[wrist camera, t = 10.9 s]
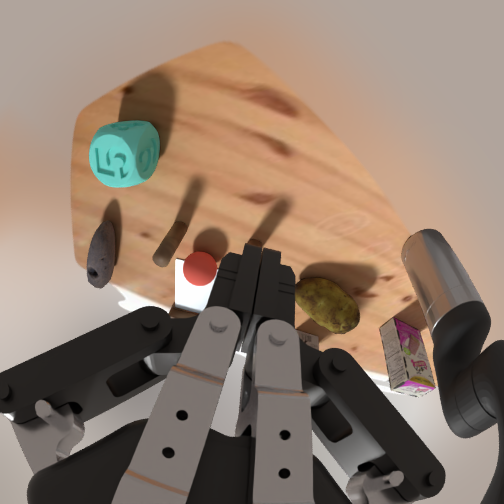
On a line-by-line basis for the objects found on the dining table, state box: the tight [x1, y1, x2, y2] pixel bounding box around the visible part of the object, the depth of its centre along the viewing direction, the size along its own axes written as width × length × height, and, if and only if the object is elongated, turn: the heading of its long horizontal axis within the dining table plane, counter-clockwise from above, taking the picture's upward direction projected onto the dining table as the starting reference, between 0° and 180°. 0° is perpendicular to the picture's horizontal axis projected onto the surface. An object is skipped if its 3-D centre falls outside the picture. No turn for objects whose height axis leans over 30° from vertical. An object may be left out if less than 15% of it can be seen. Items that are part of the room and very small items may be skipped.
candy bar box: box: [379, 317, 436, 397], centre depth 49 cm, size 11×5×16 cm, turn 62°
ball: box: [183, 252, 217, 286], centre depth 47 cm, size 6×6×6 cm
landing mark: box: [175, 258, 218, 313], centre depth 55 cm, size 14×14×1 cm
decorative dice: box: [89, 120, 160, 187], centre depth 35 cm, size 8×8×8 cm
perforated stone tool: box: [87, 221, 115, 288], centre depth 48 cm, size 15×5×7 cm, turn 154°
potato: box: [295, 278, 360, 334], centre depth 48 cm, size 8×13×8 cm, turn 47°
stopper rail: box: [169, 308, 196, 318], centre depth 59 cm, size 16×1×2 cm, turn 79°
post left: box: [153, 221, 187, 267], centre depth 43 cm, size 3×3×9 cm
